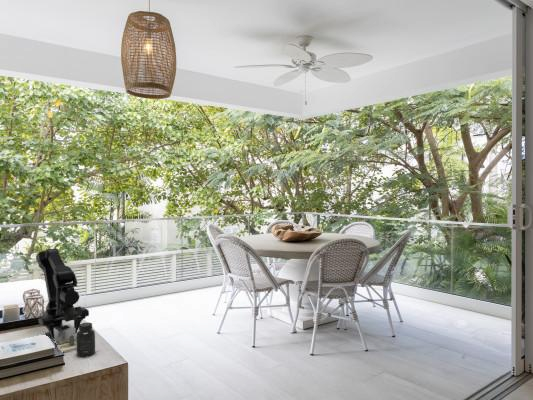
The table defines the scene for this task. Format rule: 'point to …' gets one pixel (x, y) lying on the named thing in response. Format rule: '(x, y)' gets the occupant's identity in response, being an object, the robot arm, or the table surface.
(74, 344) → the shaft plate
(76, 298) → the robot arm
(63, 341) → the hollow square tube
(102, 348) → the table surface
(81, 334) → the supplement bottle
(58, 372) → the table surface
